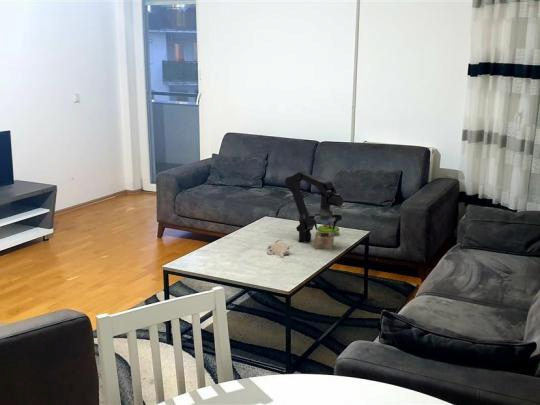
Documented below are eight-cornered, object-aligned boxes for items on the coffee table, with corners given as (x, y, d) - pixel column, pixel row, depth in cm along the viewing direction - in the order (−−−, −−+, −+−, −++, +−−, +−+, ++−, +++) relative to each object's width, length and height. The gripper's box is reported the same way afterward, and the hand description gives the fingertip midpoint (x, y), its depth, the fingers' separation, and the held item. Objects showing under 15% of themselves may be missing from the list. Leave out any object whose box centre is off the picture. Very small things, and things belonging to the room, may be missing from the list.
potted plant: (313, 234, 367) (313, 210, 363) (322, 229, 377) (322, 205, 374) (334, 238, 360) (335, 213, 356) (342, 232, 371) (343, 208, 367)
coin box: (314, 249, 341) (315, 237, 339) (316, 243, 350) (316, 231, 349) (332, 249, 340) (333, 237, 338) (333, 244, 349) (333, 232, 347)
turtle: (293, 258, 335) (296, 240, 336) (289, 258, 326) (291, 239, 327) (266, 255, 339) (269, 237, 340) (261, 254, 330) (264, 236, 331)
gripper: (307, 206, 332) (306, 234, 336) (342, 208, 330) (341, 235, 334) (309, 201, 343) (308, 228, 347) (342, 202, 340) (341, 229, 344)
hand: (324, 230), depth 343 cm, fingers open, 9 cm apart
